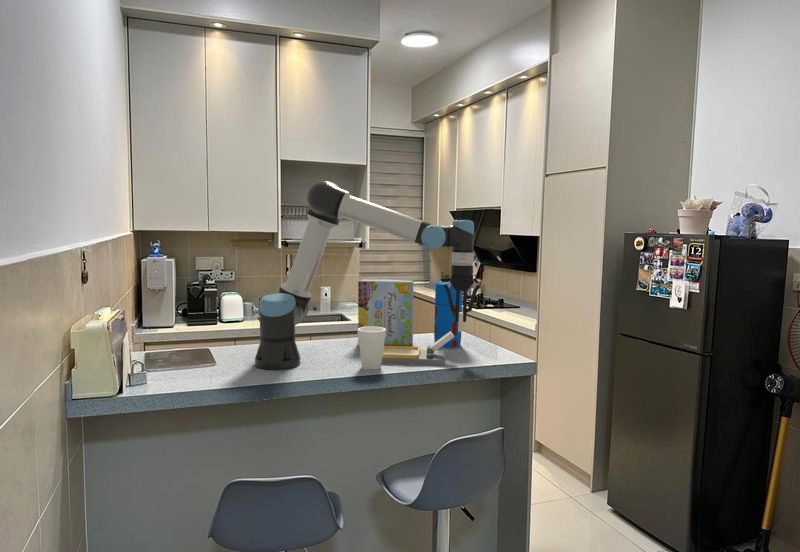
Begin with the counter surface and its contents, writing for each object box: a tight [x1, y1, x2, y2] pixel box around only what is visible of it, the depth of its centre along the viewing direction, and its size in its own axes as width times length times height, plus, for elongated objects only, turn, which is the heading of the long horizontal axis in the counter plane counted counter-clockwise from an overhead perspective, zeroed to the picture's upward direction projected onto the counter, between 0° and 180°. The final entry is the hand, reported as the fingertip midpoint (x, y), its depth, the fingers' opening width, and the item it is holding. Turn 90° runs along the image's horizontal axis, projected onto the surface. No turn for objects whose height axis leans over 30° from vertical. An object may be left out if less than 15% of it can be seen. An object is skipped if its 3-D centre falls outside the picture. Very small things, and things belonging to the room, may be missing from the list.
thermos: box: [433, 281, 463, 349], centre depth 216 cm, size 11×11×25 cm
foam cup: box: [357, 327, 386, 370], centre depth 181 cm, size 10×9×13 cm
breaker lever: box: [426, 331, 454, 354], centre depth 192 cm, size 2×5×11 cm
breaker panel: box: [381, 345, 445, 367], centre depth 193 cm, size 26×14×3 cm, turn 86°
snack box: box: [357, 279, 414, 346], centre depth 218 cm, size 22×9×26 cm, turn 82°
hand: (460, 330), depth 191 cm, fingers closed
